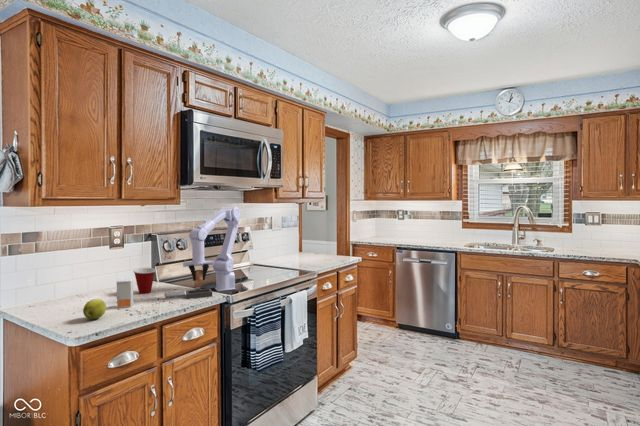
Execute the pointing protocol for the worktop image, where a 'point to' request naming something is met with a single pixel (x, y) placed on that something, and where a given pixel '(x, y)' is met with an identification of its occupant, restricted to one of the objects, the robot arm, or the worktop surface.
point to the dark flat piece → (199, 293)
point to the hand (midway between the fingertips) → (199, 280)
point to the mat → (175, 294)
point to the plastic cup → (144, 279)
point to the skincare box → (125, 293)
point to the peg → (198, 278)
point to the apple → (94, 309)
